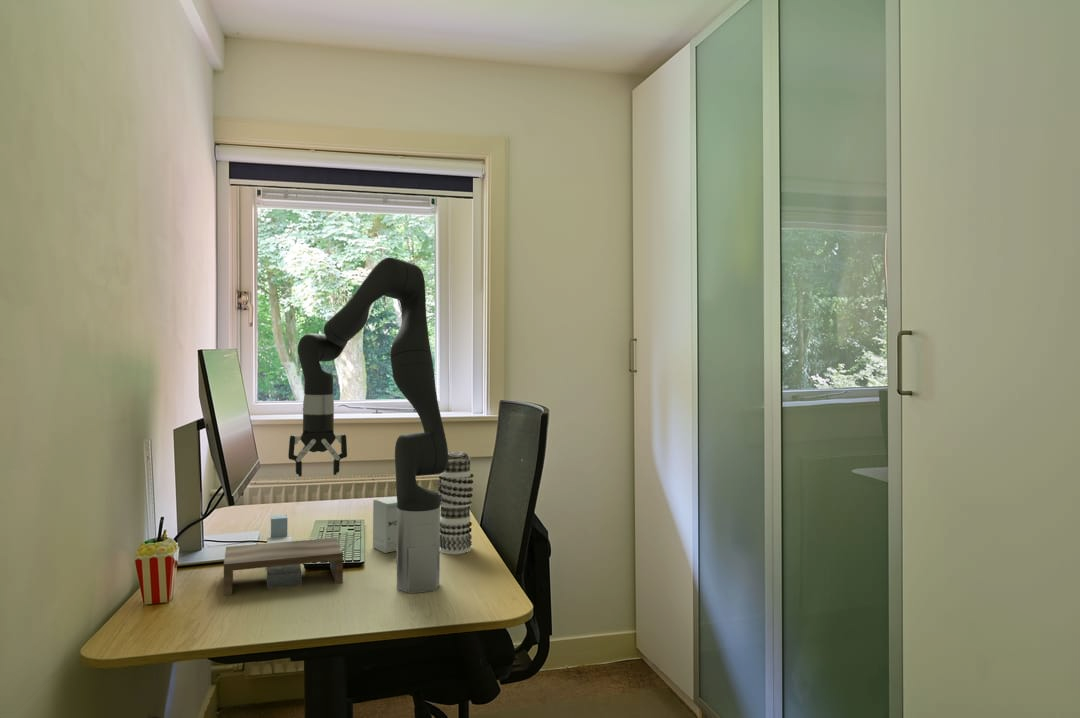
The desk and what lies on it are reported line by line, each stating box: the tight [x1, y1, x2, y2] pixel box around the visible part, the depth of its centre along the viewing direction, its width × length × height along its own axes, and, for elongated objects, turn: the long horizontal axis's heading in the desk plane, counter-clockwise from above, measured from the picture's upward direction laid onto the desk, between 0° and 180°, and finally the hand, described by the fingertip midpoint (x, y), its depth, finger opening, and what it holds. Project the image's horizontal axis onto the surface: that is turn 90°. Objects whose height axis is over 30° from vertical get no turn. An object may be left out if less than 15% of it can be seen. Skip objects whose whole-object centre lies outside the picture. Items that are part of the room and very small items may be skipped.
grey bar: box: [266, 514, 293, 544], centre depth 180 cm, size 24×6×7 cm, turn 22°
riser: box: [223, 537, 344, 596], centre depth 160 cm, size 14×24×6 cm, turn 112°
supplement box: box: [372, 496, 397, 554], centre depth 185 cm, size 7×7×13 cm
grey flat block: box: [266, 564, 302, 590], centre depth 158 cm, size 7×7×3 cm
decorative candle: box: [437, 451, 474, 555], centre depth 184 cm, size 9×9×25 cm
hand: (317, 475), depth 183 cm, fingers open, 8 cm apart
